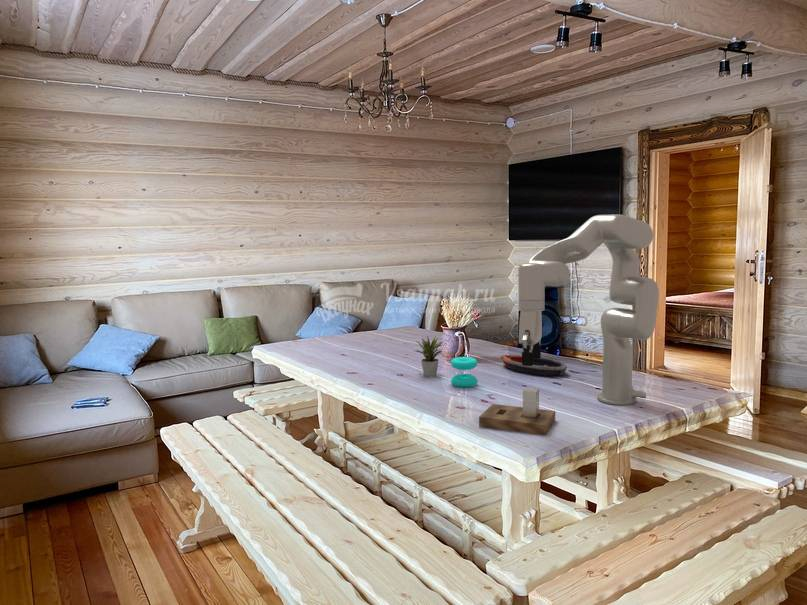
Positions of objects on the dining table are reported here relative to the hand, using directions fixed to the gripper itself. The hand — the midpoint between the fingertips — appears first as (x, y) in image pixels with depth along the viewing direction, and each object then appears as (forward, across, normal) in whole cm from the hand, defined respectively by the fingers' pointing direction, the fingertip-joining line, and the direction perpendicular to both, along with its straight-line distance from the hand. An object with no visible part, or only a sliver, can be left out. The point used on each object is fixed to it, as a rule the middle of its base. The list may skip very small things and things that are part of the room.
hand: (531, 361), depth 179 cm
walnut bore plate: (+20, 0, -4) cm, 20 cm away
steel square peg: (+20, 0, 0) cm, 20 cm away
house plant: (+20, -44, -51) cm, 70 cm away
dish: (+21, -67, -15) cm, 71 cm away
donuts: (+20, -36, -34) cm, 53 cm away
